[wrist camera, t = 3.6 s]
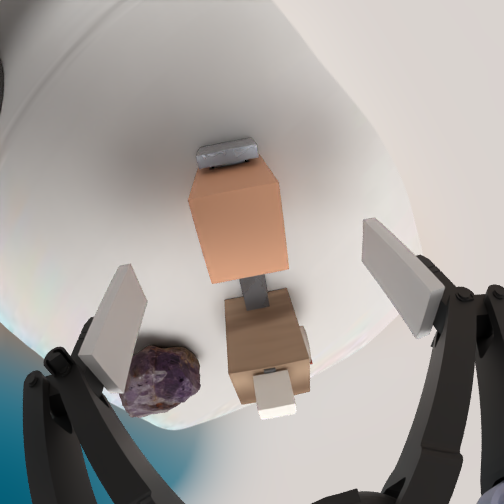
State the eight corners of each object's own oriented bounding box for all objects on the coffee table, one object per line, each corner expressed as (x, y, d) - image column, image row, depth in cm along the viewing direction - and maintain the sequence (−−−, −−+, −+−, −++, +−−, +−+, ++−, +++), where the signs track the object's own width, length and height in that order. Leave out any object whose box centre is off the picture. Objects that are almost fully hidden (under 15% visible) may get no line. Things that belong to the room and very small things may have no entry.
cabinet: (224, 300, 31) (228, 375, 22) (293, 286, 31) (318, 358, 22) (235, 335, 34) (241, 406, 25) (296, 323, 34) (317, 391, 25)
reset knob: (252, 375, 22) (257, 410, 19) (287, 369, 22) (295, 403, 19) (256, 387, 23) (261, 420, 20) (288, 381, 23) (296, 413, 20)
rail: (200, 147, 22) (196, 156, 19) (251, 137, 22) (256, 144, 19) (237, 304, 31) (240, 329, 28) (276, 297, 31) (282, 321, 28)
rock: (206, 355, 38) (156, 314, 32) (216, 404, 30) (156, 367, 25) (149, 387, 38) (99, 354, 33) (150, 433, 31) (92, 403, 26)
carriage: (199, 164, 23) (187, 200, 15) (258, 153, 23) (278, 182, 16) (213, 226, 26) (212, 283, 19) (268, 215, 26) (289, 268, 19)
